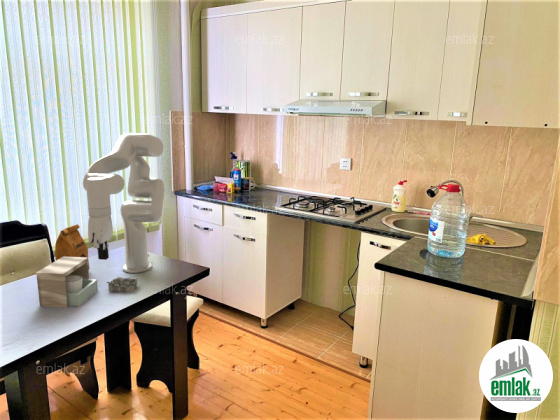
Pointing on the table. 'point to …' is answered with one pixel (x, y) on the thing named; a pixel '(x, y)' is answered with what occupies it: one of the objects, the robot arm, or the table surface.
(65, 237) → the coffee package
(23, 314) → the table surface
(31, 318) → the table surface
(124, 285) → the egg carton
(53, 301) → the beige wooden block
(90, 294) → the tray
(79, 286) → the shot glass
